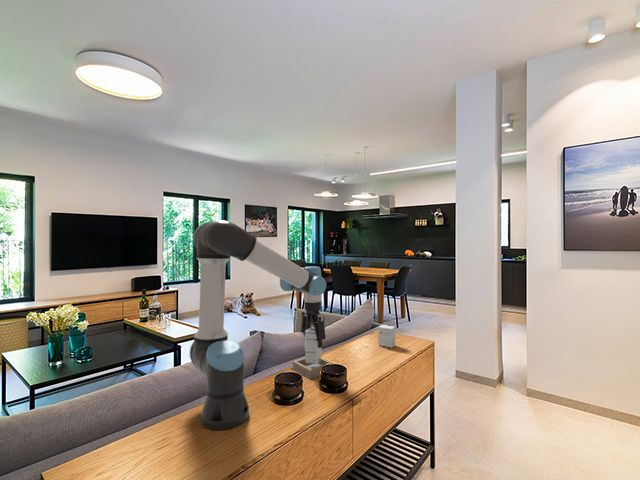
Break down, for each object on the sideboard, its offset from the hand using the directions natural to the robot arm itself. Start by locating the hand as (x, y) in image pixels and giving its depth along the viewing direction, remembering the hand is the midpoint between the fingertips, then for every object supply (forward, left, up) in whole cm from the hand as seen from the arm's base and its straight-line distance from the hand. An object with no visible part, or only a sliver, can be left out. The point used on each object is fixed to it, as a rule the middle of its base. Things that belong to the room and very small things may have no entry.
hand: (312, 351), depth 145 cm
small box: (+51, 0, -8) cm, 52 cm away
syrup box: (0, 0, -4) cm, 4 cm away
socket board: (0, 0, -8) cm, 8 cm away
